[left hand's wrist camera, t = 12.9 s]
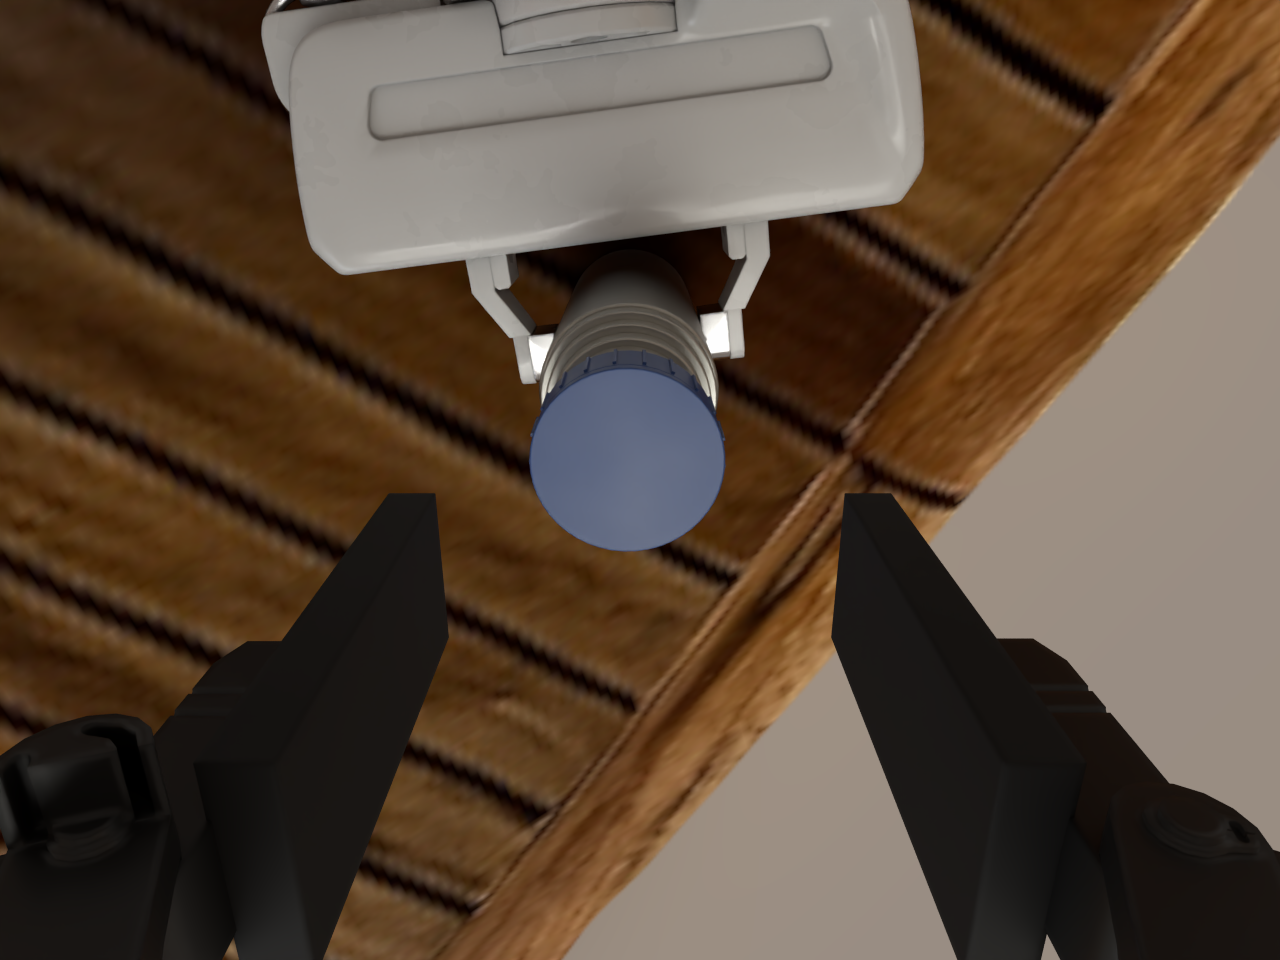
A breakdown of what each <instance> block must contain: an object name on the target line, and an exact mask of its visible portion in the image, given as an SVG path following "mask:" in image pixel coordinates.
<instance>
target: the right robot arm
mask: <svg viewBox="0 0 1280 960" xmlns="http://www.w3.org/2000/svg"><path fill="white" fill-rule="evenodd" d="M293 1H295V0H272V2H271V3H270V5H269V7H268V8H267V11H266V13H265V16H264V19H263V21H262V41H263V46H264V50H265V54H266V58H267V62H268V66H269V70H270V73H271V77H272V81H273V85H274V88H275V91H276V93H277V95H278V98H279V100H280V101H281V103H282V105H283V106H284V108H285V109H286V110H287V111H288V113H289V114H290V125H291V136H292V146H293V155H294V163H295V171H296V178H297V184H298V190H299V196H300V202H301V207H302V212H303V217H304V222H305V227H306V231H307V236H308V239H309V242H310V245H311V247H312V249H313V250H314V252H315V253H316V254H317V255H318V256H319V257H321V258H322V259H323V260H324V261H325V262H326V263H327V264H328V265H329V266H331V267H332V268H333V269H334V270H335V271H337V272H338V273H340V274H343V275H351V274H359V273H367V272H375V271H382V270H390V269H398V268H406V267H413V266H421V265H429V264H436V263H444V262H452V261H459V260H466V264H467V269H468V274H469V279H470V285H471V290H472V294H473V295H474V296H475V297H476V299H477V300H478V301H479V302H480V303H481V305H482V306H483V307H484V308H485V309H486V311H487V312H488V313H489V314H490V315H491V316H492V318H493V319H494V320H495V321H496V322H497V324H498V325H499V326H500V327H501V328H502V330H503V331H504V332H505V333H506V334H507V336H508V337H509V338H513V340H514V345H515V351H516V356H517V362H518V367H519V372H520V378H521V380H522V383H523V384H531V383H536V382H540V375H541V370H542V365H543V363H544V360H545V357H546V354H547V352H548V350H549V347H550V345H551V343H552V340H553V338H554V336H555V333H556V331H557V329H558V326H559V325H558V324H551V325H541V326H536V324H535V322H534V321H533V320H532V318H531V317H530V316H529V315H528V313H527V312H526V311H525V309H524V308H523V307H522V305H521V304H520V303H519V302H518V300H517V299H516V298H515V296H514V295H513V294H512V293H511V291H510V290H509V289H508V288H509V287H510V286H511V285H512V284H513V283H514V282H515V280H516V279H517V278H518V277H519V274H518V267H517V261H516V255H515V253H521V252H529V251H536V250H544V249H552V248H559V247H567V246H575V245H582V244H590V243H598V242H605V241H613V240H621V239H629V238H636V237H644V236H652V235H659V234H667V233H675V232H682V231H690V230H698V229H705V228H713V227H721V234H722V243H723V250H724V251H725V253H726V254H727V255H728V256H729V257H730V258H731V259H736V262H735V264H734V266H733V268H732V271H731V273H730V275H729V278H728V280H727V282H726V285H725V287H724V289H723V291H722V294H721V296H720V298H719V301H718V302H719V303H715V304H708V305H701V306H696V307H697V317H698V320H699V323H700V325H701V328H702V331H703V333H704V336H705V339H706V341H707V344H708V347H709V349H710V352H711V355H712V358H713V360H714V361H715V360H724V359H732V358H740V357H744V336H743V324H742V311H741V309H744V308H745V307H746V305H747V303H748V301H749V299H750V297H751V294H752V292H753V290H754V288H755V286H756V284H757V282H758V280H759V278H760V276H761V273H762V271H763V269H764V267H765V265H766V263H767V261H768V259H769V257H770V249H769V233H768V220H775V219H782V218H790V217H798V216H805V215H813V214H821V213H828V212H836V211H844V210H852V209H859V208H867V207H874V206H882V205H889V204H895V203H898V202H899V201H901V200H902V199H903V197H904V196H905V195H906V193H907V192H908V191H909V189H910V188H911V186H912V185H913V183H914V182H915V180H916V178H917V177H918V175H919V174H920V172H921V169H922V166H923V160H924V123H923V105H922V92H921V81H920V71H919V62H918V53H917V46H916V40H915V33H914V26H913V20H912V15H911V10H910V5H909V1H908V0H358V1H352V0H299V1H300V3H301V4H302V5H303V6H304V7H310V8H303V9H296V10H289V11H284V9H285V8H286V7H287V6H288V5H289V4H290V3H292V2H293ZM346 1H351V2H346ZM445 4H446V5H445Z"/></svg>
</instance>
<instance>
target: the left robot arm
mask: <svg viewBox="0 0 1280 960" xmlns="http://www.w3.org/2000/svg"><path fill="white" fill-rule="evenodd" d="M448 638H449V635H448V624H447V614H446V603H445V593H444V582H443V571H442V561H441V550H440V540H439V529H438V519H437V508H436V497H435V493H389V494H388V495H387V497H386V498H385V500H384V501H383V502H382V504H381V505H380V506H379V508H378V509H377V511H376V512H375V513H374V515H373V516H372V517H371V519H370V520H369V522H368V523H367V524H366V526H365V527H364V528H363V530H362V531H361V533H360V534H359V535H358V537H357V538H356V539H355V541H354V542H353V544H352V545H351V546H350V548H349V549H348V550H347V552H346V553H345V555H344V556H343V557H342V559H341V560H340V561H339V563H338V564H337V566H336V567H335V568H334V570H333V571H332V572H331V574H330V575H329V577H328V578H327V579H326V581H325V582H324V583H323V585H322V586H321V588H320V589H319V590H318V592H317V593H316V594H315V596H314V597H313V599H312V600H311V601H310V603H309V604H308V605H307V607H306V608H305V610H304V611H303V612H302V614H301V615H300V616H299V618H298V619H297V621H296V622H295V623H294V625H293V626H292V627H291V629H290V630H289V632H288V633H287V634H286V636H285V637H284V638H283V640H282V641H247V642H246V643H244V644H243V645H241V646H240V647H238V648H236V649H235V650H233V651H232V652H230V653H229V654H227V655H226V656H224V657H223V658H221V659H220V660H218V661H216V662H215V663H214V664H213V665H212V666H211V667H210V668H209V670H208V671H207V672H206V673H205V674H204V676H203V677H202V678H201V679H200V681H199V682H198V683H197V684H196V685H195V687H194V688H193V692H192V694H188V695H187V696H186V697H185V699H184V700H183V701H182V702H181V703H180V705H179V706H178V707H177V708H176V710H175V715H174V716H170V717H169V718H168V719H167V720H166V722H165V723H164V724H163V725H162V726H161V728H160V729H159V730H158V731H157V732H156V734H155V735H154V736H153V733H152V729H151V727H149V726H148V725H147V724H146V723H144V722H143V721H142V720H140V719H139V718H137V717H132V716H126V715H121V714H106V715H94V716H86V717H82V718H78V719H75V720H71V721H67V722H64V723H60V724H56V725H54V726H51V727H49V728H47V729H45V730H43V731H41V732H38V733H36V734H34V735H32V736H30V737H27V738H25V739H23V740H22V741H21V742H19V743H18V744H16V745H15V746H13V747H12V748H11V749H9V750H8V751H6V752H5V753H3V754H2V755H1V756H0V828H1V831H2V834H3V837H4V840H5V843H6V846H7V848H8V851H7V853H6V854H4V855H1V856H0V960H222V958H223V957H224V955H225V953H226V951H227V949H228V947H229V945H230V943H231V941H232V939H233V937H234V940H235V944H236V948H237V952H238V957H239V960H323V957H324V955H325V952H326V950H327V947H328V945H329V942H330V940H331V937H332V934H333V932H334V929H335V927H336V924H337V922H338V919H339V917H340V914H341V911H342V909H343V906H344V904H345V901H346V899H347V896H348V894H349V891H350V888H351V886H352V883H353V881H354V878H355V876H356V873H357V870H358V868H359V865H360V863H361V860H362V858H363V855H364V853H365V850H366V847H367V845H368V842H369V840H370V837H371V835H372V832H373V830H374V827H375V824H376V822H377V819H378V817H379V814H380V812H381V809H382V807H383V804H384V801H385V799H386V796H387V794H388V791H389V789H390V786H391V784H392V781H393V778H394V776H395V773H396V771H397V768H398V766H399V763H400V761H401V758H402V755H403V753H404V750H405V748H406V745H407V743H408V740H409V738H410V735H411V732H412V730H413V727H414V725H415V722H416V720H417V717H418V715H419V712H420V709H421V707H422V704H423V702H424V699H425V697H426V694H427V692H428V689H429V686H430V684H431V681H432V679H433V676H434V674H435V671H436V669H437V666H438V663H439V661H440V658H441V656H442V653H443V651H444V648H445V646H446V643H447V640H448ZM831 638H832V640H833V643H834V646H835V648H836V651H837V653H838V656H839V658H840V661H841V663H842V666H843V668H844V671H845V674H846V676H847V679H848V681H849V684H850V686H851V689H852V692H853V694H854V697H855V699H856V702H857V704H858V707H859V709H860V712H861V714H862V717H863V720H864V722H865V725H866V727H867V730H868V732H869V735H870V738H871V740H872V743H873V745H874V748H875V750H876V753H877V755H878V758H879V761H880V763H881V766H882V768H883V771H884V773H885V776H886V778H887V781H888V784H889V786H890V789H891V791H892V794H893V796H894V799H895V801H896V804H897V807H898V809H899V812H900V814H901V817H902V819H903V822H904V824H905V827H906V830H907V832H908V835H909V837H910V840H911V842H912V845H913V847H914V850H915V853H916V855H917V858H918V860H919V863H920V865H921V868H922V870H923V873H924V876H925V878H926V881H927V883H928V886H929V888H930V891H931V893H932V896H933V899H934V901H935V904H936V906H937V909H938V911H939V914H940V917H941V919H942V922H943V924H944V927H945V929H946V932H947V934H948V937H949V940H950V942H951V945H952V947H953V950H954V952H955V955H956V957H957V960H1041V957H1042V952H1043V948H1044V944H1045V940H1046V935H1048V937H1049V939H1050V940H1051V942H1052V944H1053V946H1054V948H1055V950H1056V952H1057V954H1058V956H1059V958H1060V960H1280V852H1279V851H1275V850H1273V849H1272V848H1271V846H1270V845H1269V843H1268V842H1267V841H1266V839H1265V838H1264V836H1263V835H1262V834H1261V832H1260V831H1259V829H1258V828H1257V827H1256V826H1254V825H1253V824H1252V823H1251V822H1249V821H1248V820H1247V819H1246V818H1244V817H1243V816H1242V815H1241V814H1239V813H1238V812H1237V811H1236V810H1234V809H1233V808H1231V807H1229V806H1227V805H1225V804H1224V803H1222V802H1220V801H1218V800H1216V799H1214V798H1212V797H1210V796H1208V795H1206V794H1204V793H1201V792H1198V791H1195V790H1192V789H1188V788H1185V787H1182V786H1179V785H1175V784H1169V783H1168V781H1167V780H1166V779H1165V778H1164V777H1163V775H1162V774H1161V773H1160V772H1159V771H1158V769H1157V768H1156V767H1155V766H1154V765H1153V763H1152V762H1151V761H1150V760H1149V759H1148V757H1147V756H1146V755H1145V754H1144V753H1143V751H1142V750H1141V749H1140V748H1139V747H1138V745H1137V744H1136V743H1135V742H1134V741H1133V739H1132V738H1131V737H1130V736H1129V735H1128V733H1127V732H1126V731H1125V730H1124V729H1123V727H1122V726H1121V725H1120V724H1119V723H1118V721H1117V720H1116V719H1115V718H1114V717H1113V715H1112V714H1111V713H1107V712H1106V707H1105V706H1104V705H1103V703H1102V702H1101V701H1100V700H1099V698H1098V697H1097V696H1096V695H1095V694H1094V693H1093V691H1088V685H1087V684H1086V683H1085V682H1084V680H1083V679H1082V678H1081V677H1080V676H1079V675H1078V673H1077V672H1076V671H1075V670H1074V669H1073V667H1072V666H1071V665H1070V664H1069V663H1068V661H1067V660H1065V659H1064V658H1062V657H1061V656H1059V655H1058V654H1056V653H1054V652H1053V651H1051V650H1050V649H1048V648H1047V647H1045V646H1044V645H1042V644H1041V643H1039V642H1037V641H1036V640H1034V639H997V638H996V637H995V636H994V634H993V633H992V632H991V630H990V629H989V627H988V626H987V625H986V623H985V622H984V621H983V619H982V618H981V616H980V615H979V614H978V612H977V611H976V610H975V608H974V607H973V605H972V604H971V603H970V601H969V600H968V599H967V597H966V596H965V594H964V593H963V592H962V590H961V589H960V588H959V586H958V585H957V584H956V582H955V581H954V579H953V578H952V577H951V575H950V574H949V572H948V571H947V570H946V568H945V567H944V566H943V564H942V563H941V561H940V560H939V559H938V557H937V556H936V555H935V553H934V552H933V550H932V549H931V548H930V546H929V545H928V544H927V542H926V541H925V539H924V538H923V537H922V535H921V534H920V533H919V531H918V530H917V528H916V527H915V526H914V524H913V523H912V522H911V520H910V519H909V517H908V516H907V515H906V513H905V512H904V511H903V509H902V508H901V506H900V505H899V504H898V502H897V501H896V500H895V498H894V497H893V495H892V494H891V493H845V497H844V508H843V519H842V529H841V540H840V550H839V561H838V571H837V582H836V593H835V603H834V614H833V624H832V635H831Z"/></svg>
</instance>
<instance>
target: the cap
mask: <svg viewBox="0 0 1280 960" xmlns="http://www.w3.org/2000/svg"><path fill="white" fill-rule="evenodd" d="M540 410H542V411H541V413H540V416H539V417H537V418H536V421H535V424H534V426H533V429H532V432H531V436H532V441H531V446H530V459H529V464H530V472H531V477H532V481H533V485H534V488H535V490H536V493H537V495H538V497H539V499H540V501H541V503H542V505H543V506H544V508H545V509H546V511H547V512H548V513H549V515H550V516H551V517H552V518H553V519H554V520H555V521H556V522H557V524H559V525H560V526H561V527H562V528H563V529H565V530H566V531H567V532H568V533H570V534H572V535H573V536H575V537H576V538H578V539H580V540H582V541H584V542H586V543H588V544H591V545H594V546H597V547H600V548H604V549H609V550H616V551H640V550H647V549H651V548H655V547H659V546H662V545H664V544H667V543H669V542H672V541H673V540H675V539H677V538H679V537H681V536H682V535H684V534H685V533H686V532H688V531H689V530H691V529H692V528H693V527H694V526H695V525H696V524H697V523H698V522H700V521H701V519H702V518H703V517H704V516H705V515H706V513H707V512H708V511H709V509H710V508H711V506H712V505H713V503H714V501H715V499H716V497H717V495H718V493H719V490H720V487H721V484H722V481H723V476H724V469H725V450H724V443H723V441H725V437H724V434H723V431H722V427H721V424H720V421H717V418H716V415H715V414H716V411H715V407H714V404H713V401H712V398H711V396H709V397H708V396H707V394H706V393H705V391H704V389H703V388H702V387H701V385H700V384H699V383H698V382H697V379H696V376H695V375H694V374H693V375H692V376H691V375H690V374H689V373H688V372H687V371H686V370H684V369H683V368H682V367H680V366H679V365H677V364H676V363H674V362H673V359H671V358H670V359H669V360H668V359H666V358H663V357H661V356H658V355H656V354H651V353H647V352H646V350H642V351H633V350H626V351H617V349H614V351H613V352H607V353H604V354H600V355H597V356H594V357H592V358H590V356H588V357H586V360H585V361H583V362H581V363H580V364H578V365H576V366H575V367H573V368H572V369H571V370H570V371H568V372H566V371H565V372H564V373H563V374H562V378H561V379H560V380H559V381H558V382H557V383H556V385H555V386H554V387H553V389H552V390H551V392H550V393H548V392H547V393H546V395H545V398H544V401H543V404H542V406H541V409H540Z"/></svg>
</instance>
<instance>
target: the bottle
mask: <svg viewBox="0 0 1280 960" xmlns="http://www.w3.org/2000/svg"><path fill="white" fill-rule="evenodd" d="M614 349H617V351H626V350H633V351H642V350H646V352H647V353H651V354H656V355H658V356H661V357H663V358H666V359H668V360H669V359H670V358H671V359H673V362H674V363H676V364H677V365H679V366H680V367H682V368H683V369H684V370H686V371H687V372H688V373H689V374H690V375H691V376H692V375H693V374H694V375H695V376H696V379H697V382H698V383H699V384H700V385H701V387H702V388H703V389H704V391H705V393H706V394H707V396H708V397H709V396H711V398H712V401H713V404H714V407H715V411H716V409H717V403H718V395H719V384H718V376H717V371H716V367H715V363H714V360H713V358H712V355H711V352H710V349H709V347H708V344H707V341H706V339H705V336H704V333H703V331H702V328H701V325H700V323H699V320H698V317H697V315H696V312H695V309H694V306H693V304H692V301H691V298H690V296H689V293H688V290H687V288H686V285H685V283H684V281H683V280H682V278H681V276H680V275H679V273H678V272H677V271H676V270H675V269H674V268H673V267H672V266H671V265H670V264H669V263H668V262H667V261H665V260H664V259H662V258H661V257H659V256H657V255H655V254H652V253H650V252H646V251H642V250H635V249H626V250H619V251H615V252H612V253H609V254H607V255H604V256H602V257H601V258H599V259H597V260H596V261H595V262H593V263H592V264H591V265H590V266H589V267H588V268H587V269H586V270H585V271H584V273H583V274H582V275H581V277H580V278H579V280H578V282H577V284H576V286H575V289H574V291H573V293H572V296H571V298H570V300H569V303H568V305H567V307H566V310H565V312H564V315H563V317H562V319H561V322H560V324H559V326H558V329H557V331H556V333H555V336H554V338H553V340H552V343H551V345H550V347H549V350H548V352H547V354H546V357H545V360H544V363H543V365H542V370H541V375H540V383H539V395H540V403H541V406H542V404H543V401H544V398H545V395H546V393H547V392H548V393H550V392H551V390H552V389H553V387H554V386H555V385H556V383H557V382H558V381H559V380H560V379H561V378H562V374H563V373H564V372H565V371H566V372H568V371H570V370H571V369H572V368H573V367H575V366H576V365H578V364H580V363H581V362H583V361H585V360H586V357H588V356H590V358H592V357H594V356H597V355H600V354H604V353H607V352H613V351H614Z"/></svg>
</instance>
